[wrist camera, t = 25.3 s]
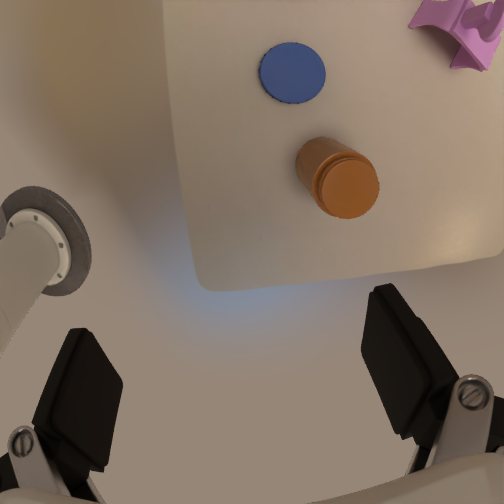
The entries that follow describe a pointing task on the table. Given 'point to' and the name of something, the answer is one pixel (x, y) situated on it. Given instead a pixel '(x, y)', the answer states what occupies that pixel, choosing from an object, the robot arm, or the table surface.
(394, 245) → the table surface
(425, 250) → the table surface
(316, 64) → the jar lid
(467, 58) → the toy chair
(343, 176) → the jar
